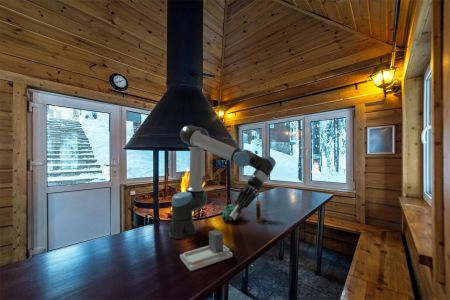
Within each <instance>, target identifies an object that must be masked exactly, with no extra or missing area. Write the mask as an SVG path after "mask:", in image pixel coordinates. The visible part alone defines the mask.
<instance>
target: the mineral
mask: <svg viewBox="0 0 450 300" xmlns="http://www.w3.org/2000/svg"><path fill="white" fill-rule="evenodd" d="M235 206H236V204H235V203H230V204H228V205H225V206H224V207H223V210H222V213H221V214H222V215H221V219H222V221H225V222H227V221H229V222H231V221H234V222H235V221H237V220H238V219H239V217H240V215H241V214H242V213H243V211H242V210H243V209H242V210H241V211H240V213H239V214H238V215H237V217H236V218H235V219H233V218H232V217H231V216H230V214H231V213H232V211H233V209H234V208H235Z"/></svg>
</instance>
